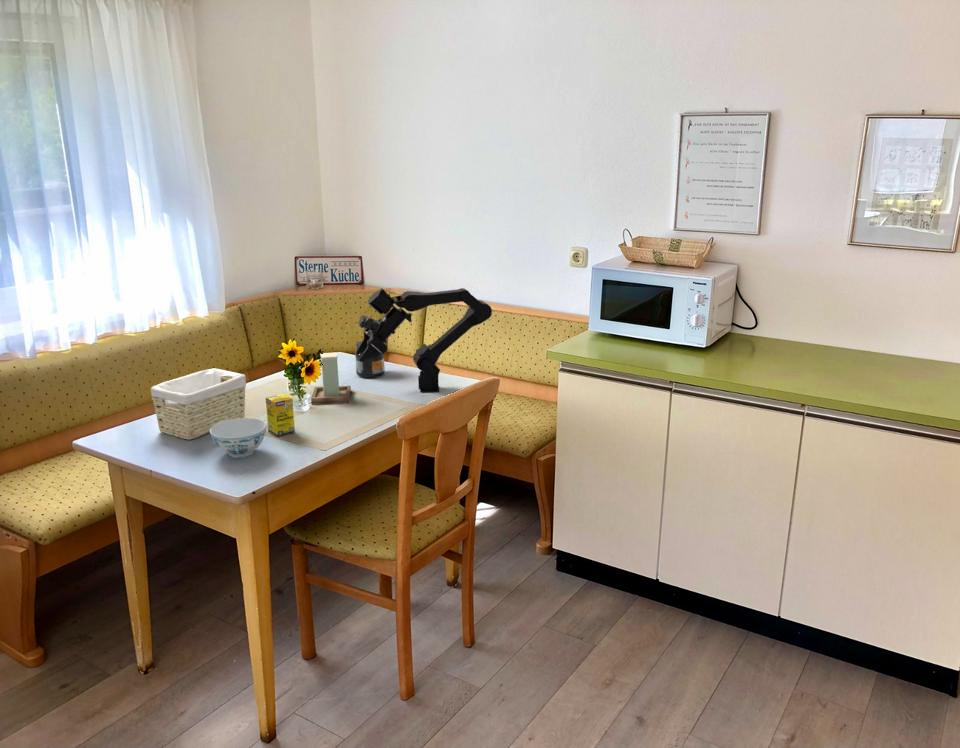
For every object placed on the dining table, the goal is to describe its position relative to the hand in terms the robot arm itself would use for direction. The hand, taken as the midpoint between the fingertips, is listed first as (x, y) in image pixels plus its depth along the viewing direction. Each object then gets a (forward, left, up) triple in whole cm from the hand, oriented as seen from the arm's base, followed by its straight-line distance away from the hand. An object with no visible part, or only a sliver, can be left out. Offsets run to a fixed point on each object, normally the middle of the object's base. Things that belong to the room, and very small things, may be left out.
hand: (358, 357), depth 263 cm
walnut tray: (+10, +1, -14) cm, 17 cm away
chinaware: (+31, +46, -14) cm, 57 cm away
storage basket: (+46, +23, -14) cm, 53 cm away
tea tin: (+10, +1, -13) cm, 16 cm away
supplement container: (-2, -23, -14) cm, 27 cm away
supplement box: (+22, +31, -14) cm, 40 cm away
